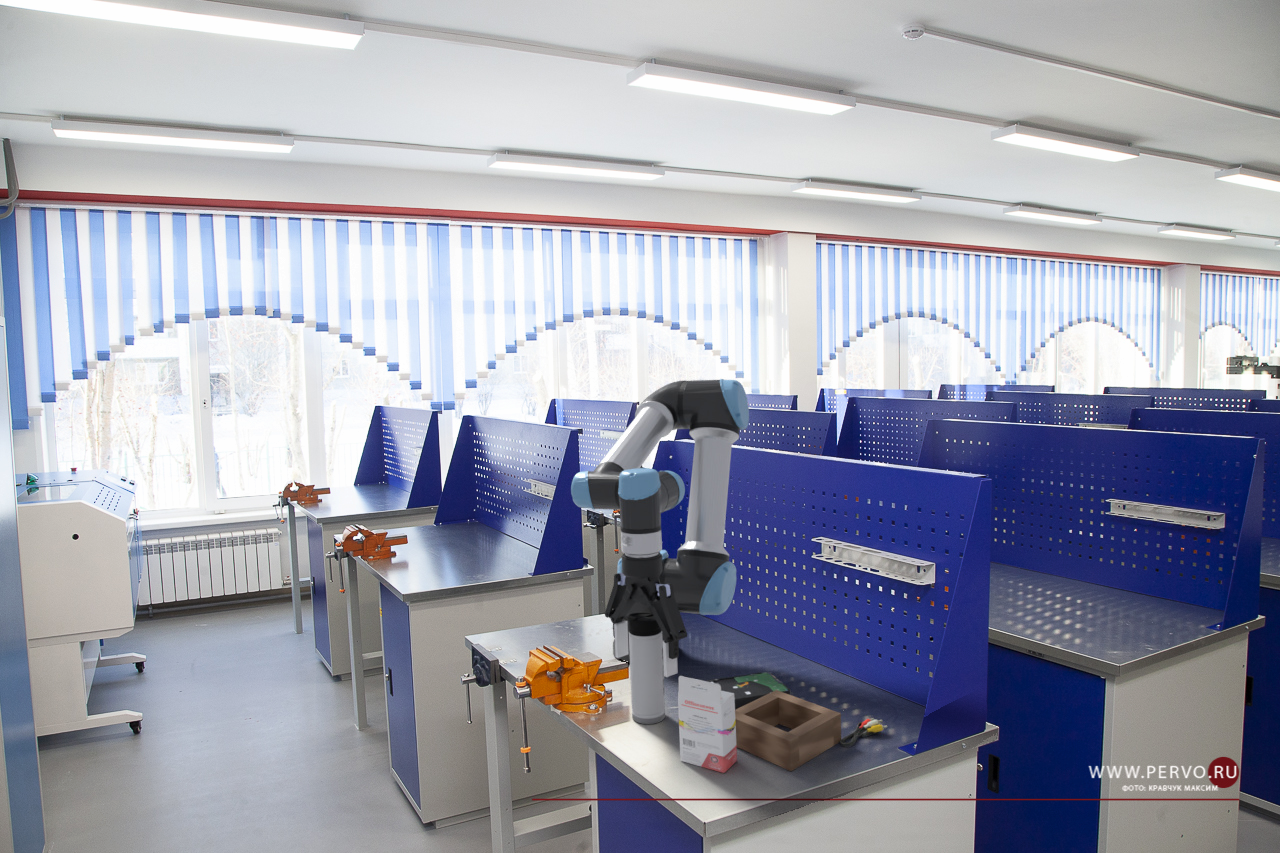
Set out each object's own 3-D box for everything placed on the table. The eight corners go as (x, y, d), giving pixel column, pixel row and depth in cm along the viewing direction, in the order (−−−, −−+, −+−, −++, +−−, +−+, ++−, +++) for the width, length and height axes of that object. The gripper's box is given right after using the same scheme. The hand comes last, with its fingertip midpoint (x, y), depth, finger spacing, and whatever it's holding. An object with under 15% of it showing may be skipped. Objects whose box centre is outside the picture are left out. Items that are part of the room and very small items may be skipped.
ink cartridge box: (738, 760, 131) (735, 675, 130) (724, 774, 127) (721, 686, 126) (693, 748, 136) (690, 665, 135) (678, 761, 132) (675, 675, 130)
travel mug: (624, 717, 148) (619, 614, 147) (650, 706, 153) (646, 606, 151) (645, 728, 144) (641, 621, 142) (672, 717, 148) (668, 613, 146)
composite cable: (847, 750, 134) (846, 736, 133) (827, 739, 138) (827, 725, 138) (889, 735, 138) (889, 721, 138) (869, 724, 143) (868, 711, 142)
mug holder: (726, 742, 137) (725, 714, 137) (777, 715, 147) (776, 690, 146) (791, 771, 127) (790, 741, 127) (841, 741, 136) (840, 713, 136)
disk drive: (720, 716, 149) (792, 703, 153) (720, 701, 149) (791, 689, 153) (702, 694, 159) (769, 682, 163) (701, 680, 159) (769, 669, 163)
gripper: (584, 546, 152) (588, 653, 154) (674, 568, 134) (677, 689, 135) (614, 539, 157) (618, 643, 159) (704, 559, 139) (708, 677, 140)
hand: (645, 665), depth 147 cm, fingers open, 13 cm apart
